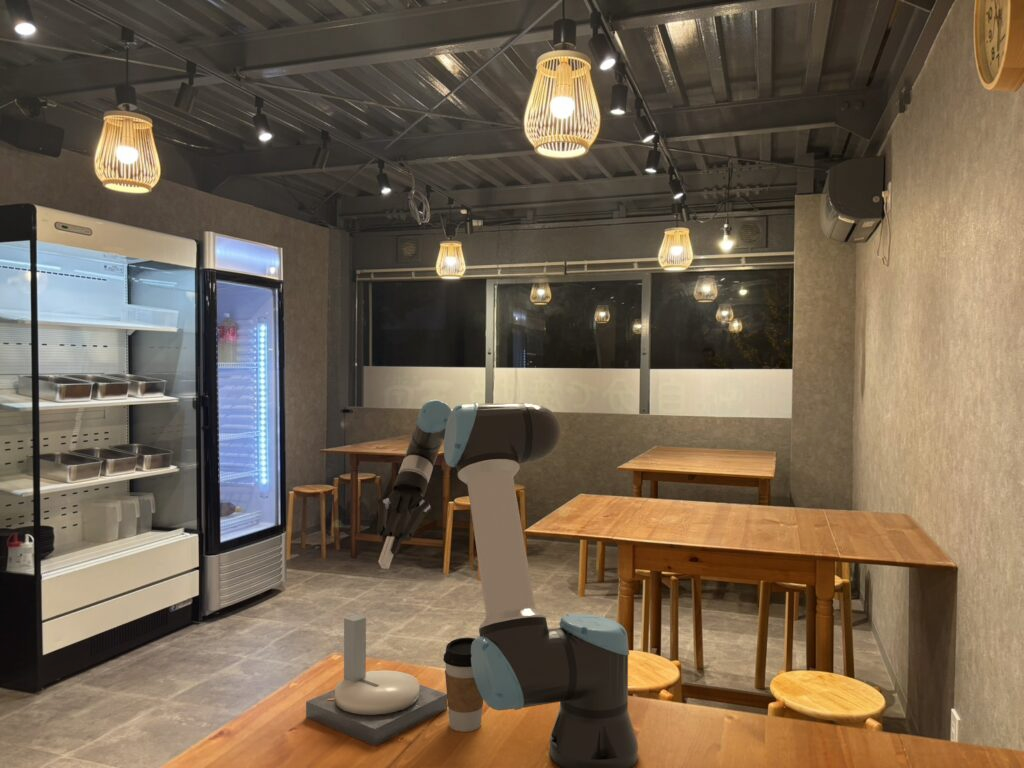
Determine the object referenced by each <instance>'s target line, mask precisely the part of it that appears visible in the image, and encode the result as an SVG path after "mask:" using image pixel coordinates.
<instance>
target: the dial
mask: <svg viewBox="0 0 1024 768" xmlns="http://www.w3.org/2000/svg"><path fill="white" fill-rule="evenodd" d="M366 650H367V617H366V616H362V615H360V614H353V615H351V616H347V617H343V679H342V680H341V681H339V682H338V683H337V684H336V686H335V688H334V690H335V703H336V705H337V706H338V707H339V708H341V709H343V710H345V711H347V712H351V713H355V714H363V715H378V714H386V713H392V712H396V711H399V710H402V709H405V708H407V707H409V706H411V705H412V704H414V703H415V702H416V701H417V700H418V698H419V685H420V682H419V679H417V678H416V676H413V675H412V674H409V673H407V672H402V671H396V670H385V669H383V670H371V671H370V670H369V671H367V664H366V662H367V660H366V659H367V658H366V657H367V651H366Z"/></svg>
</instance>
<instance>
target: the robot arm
mask: <svg viewBox="0 0 1024 768" xmlns="http://www.w3.org/2000/svg"><path fill="white" fill-rule="evenodd" d="M415 421H416V422H415V426H414V429H413V431H412V434H411V437H410V440H409V443H408V446H407V449H406V451H405V455H404V457H403V460H402V463H401V466H400V468H399V470H398V474H397V476H396V479H395V481H394V484H393V488H392V492H391V493H390V494H389V495H388V497H387V498H384V499H382V498H378V499H377V504H378V515H377V516H378V518H377V525H376V526H377V528H376V534H377V535H378V537H379V539H380V540H381V543H380V546H379V551H380V556H379V558H378V561H377V562H378V564H379V566H380V567H381V568H380V569H383V570H384V569H385V570H386V569H387V570H389V569H390V566H391V564H392V561H393V558H394V556H395V555H397V554H398V553H399V550H400V547H401V544H402V543H403V542H405V541H406V542H410V541H411V540H412V539H413V536H414V535H415V533H416V531H417V530H418V528H419V526H420V525H421V523H422V521H423V520H424V518H425V516H426V515H427V514H428V513H429V512H430V511H431V510H432V507H431V505H430V502H429V500H425V494H426V492H427V488H428V484H429V483H430V479H431V476H432V472H433V470H434V469H433V468H434V466H435V463H436V460H437V458H438V455H439V452H440V450H441V446H442V444H443V456H444V461H445V464H446V465H447V466H448V467H451V468H455V467H456V471H457V478H458V479H459V480H460V481H461V482H463V483H464V484H466V485H467V491H468V497H469V504H470V513H471V520H472V526H473V533H474V541H475V547H476V555H477V563H478V569H479V575H480V583H481V591H482V596H483V606H484V609H485V610H484V612H485V617H484V620H483V621H482V623H481V624H480V625H479V626H478V632H479V636H477V637H476V638H475V640H474V641H473V642H472V645H471V655H472V657H471V665H472V670H473V675H474V679H475V682H476V685H477V688H478V690H479V692H480V694H481V696H482V698H483V702H485V704H486V705H487V706H488V707H489V708H490V709H493V710H495V711H508V710H515V711H517V710H521V709H524V708H525V709H526V708H532V707H536V706H542V705H543V706H544V705H548V704H554V703H560V704H559V710H558V712H557V715H556V719H555V722H554V725H553V728H552V731H551V734H550V738H549V755H550V758H551V759H552V761H553V762H554V763H556V765H558V766H560V767H561V768H633V767H634V766H635V765H636V763H637V761H638V759H639V745H638V740H637V737H636V734H635V730H634V726H633V723H632V720H631V716H630V714H629V699H628V698H629V655H630V650H629V649H630V648H629V640H628V639H629V637H628V633H627V631H626V629H625V627H624V626H623V625H622V624H621V623H619V622H617V621H615V620H613V619H610V618H607V617H604V616H600V615H595V614H588V613H568V614H566V615H563V616H562V617H561V618H560V621H559V623H558V624H559V627H557V628H556V627H555V628H548V627H549V626H548V622H547V616H546V615H544V614H543V613H542V612H541V611H539V610H538V609H537V608H536V604H535V598H534V592H533V586H532V579H531V575H530V569H529V568H530V567H529V562H528V557H527V551H526V544H525V539H524V533H523V527H522V521H521V516H520V509H519V503H518V498H517V492H516V486H515V481H514V477H515V476H516V475H517V474H518V472H519V470H520V467H521V466H520V464H530V463H531V464H532V463H535V462H538V461H542V460H543V459H545V458H547V457H548V456H551V454H552V453H554V451H555V450H556V449H557V447H558V446H559V444H560V442H561V438H562V426H561V423H560V421H559V419H558V417H557V416H556V414H555V413H554V412H553V411H552V410H550V409H549V408H547V407H545V406H543V405H539V404H537V403H530V402H528V403H527V402H526V403H525V402H522V403H521V402H518V403H478V402H473V403H467V404H466V403H463V404H458V405H455V406H454V407H453V408H451V406H450V405H449V404H447V403H446V402H445V401H441V400H439V399H431V400H428V401H426V402H425V403H423V405H422V407H421V408H420V410H419V412H418V415H417V417H416V420H415ZM390 505H391V512H390V515H389V518H388V510H389V507H390ZM387 520H388V521H387Z"/></svg>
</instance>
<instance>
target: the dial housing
mask: <svg viewBox="0 0 1024 768" xmlns="http://www.w3.org/2000/svg"><path fill="white" fill-rule="evenodd" d="M447 710H448V700H447V692H443V691H440V690H437V689H434V688H432V687H428V686H424V685H421V684H419V698H418V700H417V701H416V702H415V703H414V704H412V705H411V706H409V707H407V708H405V709H402V710H399V711H396V712H392V713H386V714H378V715H363V714H355V713H351V712H347V711H345V710H343V709H341V708H339V707H338V706H337V705H336V703H335V689H333V690H330V691H329V692H326V693H323V694H321V695H319V696H315V697H314V698H311V699H308V700H306V702H305V718H308V719H309V718H310V719H309V720H312V719H313V720H312V721H314V722H316V721H317V723H318V724H322V725H323V724H324V726H326V727H329V728H331V729H334V730H336V731H338V732H340V733H342V734H345V735H347V736H350V737H353V738H354V739H356V740H359V741H361V742H364V743H367V744H369V745H371V746H373V747H376V746H378V745H380V744H382V743H384V742H387V741H388V740H390V739H392V738H394V737H397V736H398V735H400V734H402V733H404V732H406V731H408V730H409V729H411V728H413V727H416V726H417V725H419V724H422V723H423V722H425V721H427V720H429V719H431V718H432V717H435V716H437V715H439V714H440V713H442V712H445V711H447Z"/></svg>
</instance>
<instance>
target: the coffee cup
mask: <svg viewBox="0 0 1024 768" xmlns="http://www.w3.org/2000/svg"><path fill="white" fill-rule="evenodd" d="M475 639H476V638H475V637H459V638H455V639H452V640H451V641H449V643H447V645H446V646H445V653H444V654H443V659H442V660H443V662H444V663H445V669H444V675H445V688H446V689H445V690H446V694H447V710H448V721H449V723H448V724H449V727H450V729H452V730H454V731H457V732H462V733H463V732H465V733H467V732H473V731H475V730H478V729H479V728H480V727H481V726H482V725H481V724H482V719H483V706H484V699H483V698H482V696H481V694H480V692H479V690H478V688H477V685H476V682H475V679H474V675H473V670H472V665H471V657H472V655H471V645H472V642H473V641H474V640H475Z"/></svg>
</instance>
